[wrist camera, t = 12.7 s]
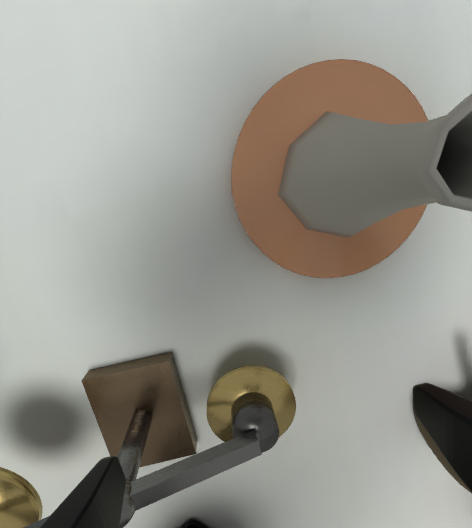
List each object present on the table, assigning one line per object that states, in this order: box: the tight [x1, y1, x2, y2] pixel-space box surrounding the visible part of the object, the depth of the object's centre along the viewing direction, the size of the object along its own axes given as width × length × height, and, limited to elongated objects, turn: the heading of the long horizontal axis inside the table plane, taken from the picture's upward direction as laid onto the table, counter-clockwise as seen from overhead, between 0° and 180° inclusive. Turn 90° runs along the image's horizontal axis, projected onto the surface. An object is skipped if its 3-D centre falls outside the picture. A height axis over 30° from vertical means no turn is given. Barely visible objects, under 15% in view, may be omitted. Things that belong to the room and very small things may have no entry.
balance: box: [0, 352, 296, 528], centre depth 17 cm, size 22×8×9 cm, turn 101°
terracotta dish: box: [231, 59, 428, 278], centre depth 18 cm, size 13×13×1 cm
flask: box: [278, 94, 472, 238], centre depth 13 cm, size 7×7×10 cm
